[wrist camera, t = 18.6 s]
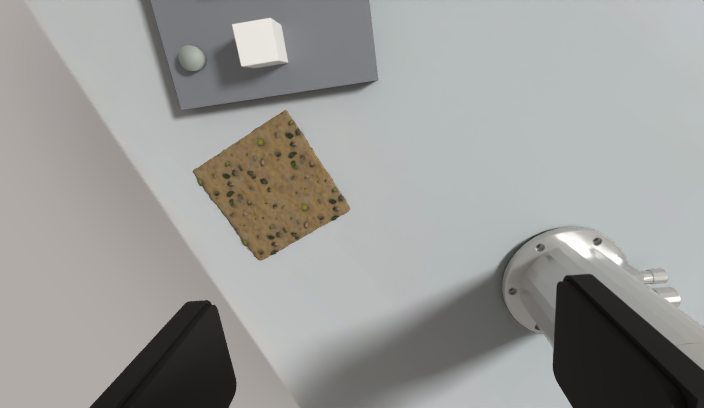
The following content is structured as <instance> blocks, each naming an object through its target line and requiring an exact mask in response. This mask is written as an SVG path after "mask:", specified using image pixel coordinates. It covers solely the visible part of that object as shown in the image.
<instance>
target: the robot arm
mask: <svg viewBox="0 0 704 408" xmlns="http://www.w3.org/2000/svg"><path fill="white" fill-rule="evenodd" d="M667 281H668V275H667V273H666V271H665V270H664V269H651V270H646V271H639V270H637V269H635V268H634V267H632V266H631V265H629V264H628V261H627V258H626V256H625V254H624V253H623V251H622V250H621V248H620V247H619V246H618V245H617V244H616V243H615V242H614V241H612V240H611V239H609V238H608V237H606V236H605V235H603V234H601V233H599V232H597V231H594V230H591V229H587V228H582V227H565V228H557V229H554V230H550V231H547V232H544V233H542V234H540V235H538V236H536V237H534V238H533V239H531V240H530V241H528V242H527V243H525V244H524V245H523V246H522V247H521V248H520V249H519V250H518V251H517V252H516V253H515V254H514V256H513V257H512V258H511V260H510V261H509V263H508V265H507V267H506V269H505V272H504V276H503V280H502V293H503V298H504V301H505V303H506V305H507V308H508V309H509V311H510V312H511V314H512V315H513V317H514V318H515V319H516V320H517V321H518V322H519V323H520V324H522V325H523V326H524V327H526V328H527V329H529V330H532V331H534V332H536V333H540V334H544V336H545V337H546V338H547V340H548V341H549V343H550V344H551V346H552V347H553V348H554V352H553V372H554V375H555V378H556V381H557V382H558V384H559V386H560V387H561V389H562V391H563V392H564V394H565V396H566V397H567V399H568V400H569V402H570V404H571V405H572V407H573V408H704V327H703V326H702V325H701V324H699V323H698V322H697V321H695V320H694V319H692V318H691V317H690V316H688V315H687V314H685V313H684V312H683V311H681V310H680V309H679V308H677V306H679V305H680V302H681V301H680V296H679V294H678V292H677V291H676V290H675V289H674V288H672V287H663V288H653V289H651V288H650V287H648V286H647V285H645V284H658V283H666V282H667ZM235 392H236V378H235V374H234V370H233V366H232V362H231V359H230V355H229V351H228V347H227V343H226V340H225V336H224V332H223V328H222V324H221V321H220V316H219V313H218V309H217V307H216V306H215V305H212V304H211V303H210V301H208V300H205V301H190V302H187V303H185V304H184V305H183V306H182V308H181V309H180V310H179V311H178V312H177V313H176V314H175V315H174V316H173V317H172V319H171V320H170V321H169V322H168V323H167V324H166V325H165V326H164V327H163V328H162V329H161V330H160V332H159V333H158V334H157V335H156V336H155V337H154V338H153V339H152V340H151V341H150V342H149V343H148V345H147V346H146V347H145V348H144V349H143V350H142V351H141V352H140V353H139V354H138V355H137V357H136V358H135V359H134V360H133V361H132V362H131V363H130V364H129V365H128V366H127V367H126V368H125V370H124V371H123V372H122V373H121V374H120V375H119V376H118V377H117V378H116V379H115V381H114V382H113V383H112V384H111V385H110V386H109V387H108V388H107V389H106V390H105V391H104V392H103V394H102V395H101V396H100V397H99V398H98V399H97V400H96V401H95V402H94V403H93V404H92V406H91V407H90V408H229V405H230V403H231V401H232V399H233V397H234V395H235Z"/></svg>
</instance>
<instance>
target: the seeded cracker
mask: <svg viewBox="0 0 704 408" xmlns="http://www.w3.org/2000/svg"><path fill="white" fill-rule="evenodd" d="M193 173H194V174H195V175H196V177H197V179H198V182H199V184H200V185H201V186H203V187H204V189H205V190H206V191H207V193H208V194H209V195H210V197H211V199H212V200H213V201H214V202H215V203H216V204H217V205H218V207H219V208H220V209H221V211H222V212H223V214H224V215H225V216H226V217H227V219H228V220H229V221H230V223H231V225H232V226H233V227H234V228H235V230H236V231H237V233H238V234H239V235H240V236H241V238H242V240H243V243H244V244H245V245H246V246H248V247H249V249H250V250H251V251H252V252H253V253H254V255H255V257H257V258H258V259H259V260H263V259H266V258H267V257H269V256H270V255H274V254H276V252H278V251H279V250H282V249H284V248H285V247H286V246H288V245H289V244H291V243H293V242H295V241H297V240H299V239H301V238H302V237H304V236H305V235H307V234H309V233H311V232H313V231H314V230H316V229H317V228H319V227H321V226H323V225H325V224H327V223H329V222H330V221H332V220H336V218H338V217H339V216H341V215H344V214H345V213H347V212H348V211H349V210H350V207H349V205H348V204H347V202H346V199H345V198H344V197H343V196H342V195H341V193H340V192H339V190H338V188H337V187H336V186H335V184H334V182H333V180H332V179H331V177H330V175H329V174H328V172H327V171H326V170H325V168H324V167H323V166H322V164H321V162H320V161H319V159H318V158H317V156H316V155H315V153H314V151H313V149H312V148H311V147H310V146H309V144H308V142H307V140H306V139H305V137H304V135H303V133H302V132H301V131H300V130H299V128H298V127H297V125H296V123H295V122H294V121H293V120H292V118H291V117H290V115H289V113H288V111H286V110H285V111H284V112H282V113H281V114H279V115H277V116H275V117H274V118H272V119H271V120H269V121H268V122H266V123H265V124H263V125H262V126H260V127H258V128H256V129H255V130H253V131H252V132H251V133H250V134H249V135H247V136H246V137H244V138H242V139H241V140H239V141H238V142H237V143H235V144H233V145H231V146H230V147H229V148H227V149H226V150H223V151H222V152H221V153H220V154H218V155H217V156H215V157H214V158H212V159H210V160H209V161H208V162H206V163H204V164H203V165H201V166H200V167H199V168H196V169H194V170H193Z"/></svg>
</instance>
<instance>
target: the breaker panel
mask: <svg viewBox="0 0 704 408" xmlns="http://www.w3.org/2000/svg"><path fill="white" fill-rule="evenodd" d="M150 1H151V4H152V8H153V11H154V15H155V19H156V22H157V26H158V29H159V33H160V36H161V40H162V43H163V47H164V50H165V54H166V58H167V61H168V65H169V68H170V72H171V75H172V79H173V82H174V86H175V90H176V93H177V97H178V100H179V104H180V107H181V110H185V109H192V108H199V107H206V106H212V105H219V104H225V103H232V102H238V101H245V100H252V99H258V98H265V97H271V96H278V95H284V94H291V93H298V92H304V91H311V90H317V89H324V88H330V87H337V86H343V85H350V84H357V83H363V82H370V81H376V80H378V74H377V65H376V56H375V48H374V39H373V30H372V22H371V13H370V4H369V0H150Z"/></svg>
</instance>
